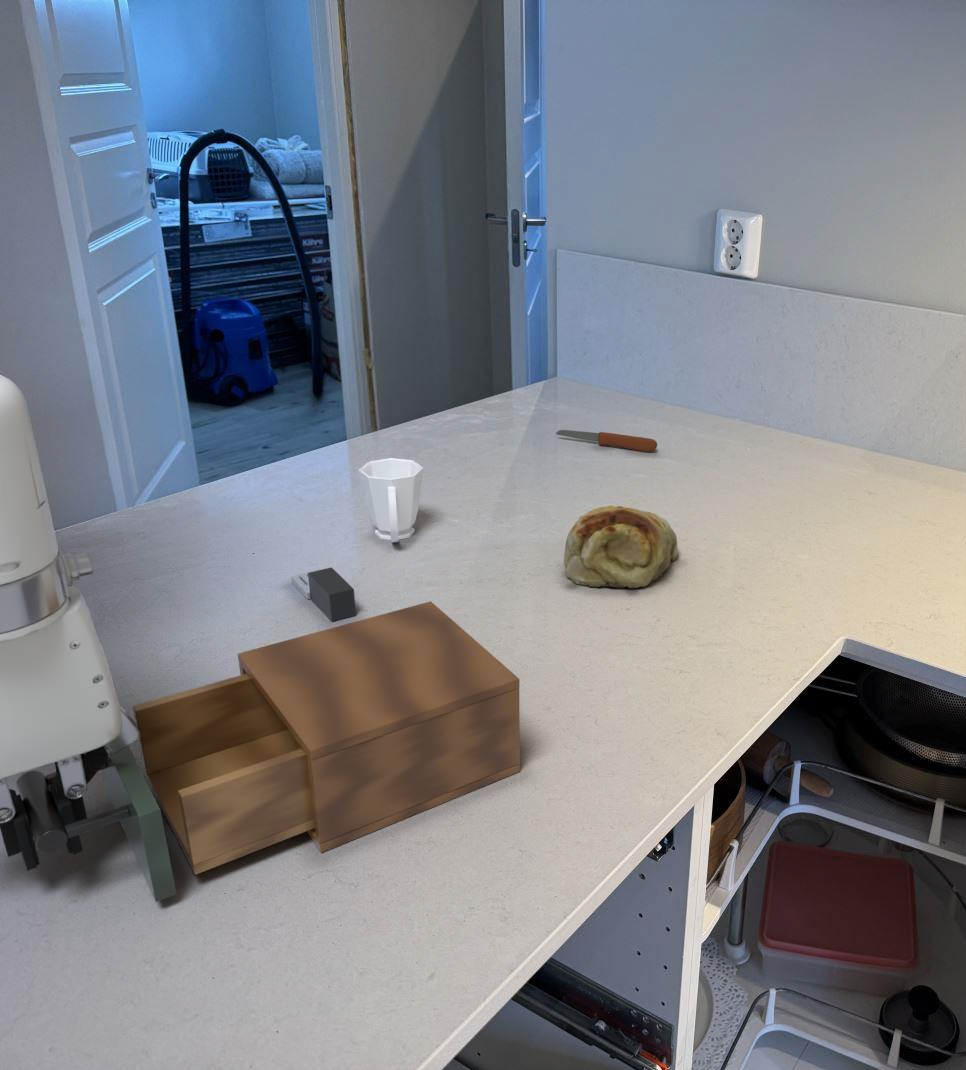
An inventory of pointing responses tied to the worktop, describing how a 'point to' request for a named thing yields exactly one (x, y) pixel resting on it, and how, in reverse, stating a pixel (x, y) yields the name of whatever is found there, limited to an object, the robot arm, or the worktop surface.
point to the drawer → (193, 783)
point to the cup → (392, 495)
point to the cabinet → (390, 716)
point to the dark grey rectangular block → (327, 592)
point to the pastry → (619, 548)
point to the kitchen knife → (613, 440)
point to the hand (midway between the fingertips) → (50, 847)
